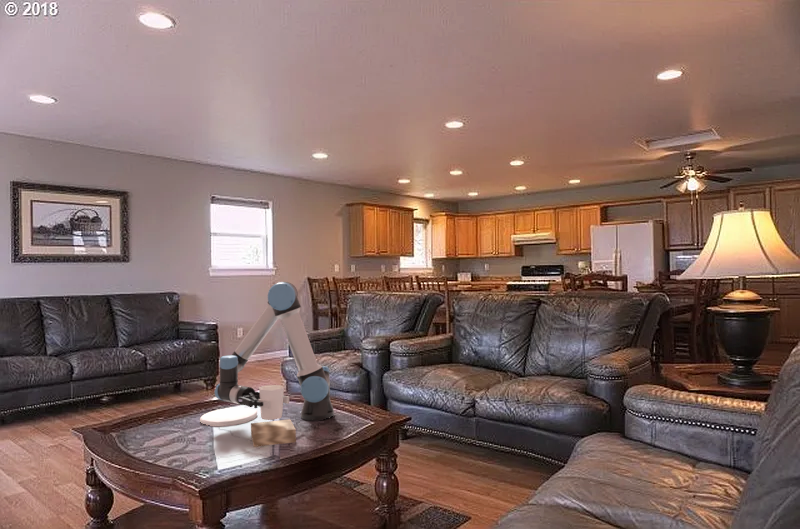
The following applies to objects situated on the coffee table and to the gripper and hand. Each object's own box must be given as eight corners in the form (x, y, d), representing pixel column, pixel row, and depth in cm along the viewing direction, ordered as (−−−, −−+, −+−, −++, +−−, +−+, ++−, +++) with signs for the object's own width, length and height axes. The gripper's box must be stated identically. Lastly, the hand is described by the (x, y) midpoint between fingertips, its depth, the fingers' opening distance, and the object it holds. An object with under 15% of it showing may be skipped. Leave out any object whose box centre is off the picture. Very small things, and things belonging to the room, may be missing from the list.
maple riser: (290, 431, 230) (290, 419, 230) (295, 442, 215) (295, 429, 215) (251, 435, 225) (250, 423, 225) (253, 447, 210) (253, 433, 210)
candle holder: (277, 421, 214) (277, 390, 215) (254, 419, 216) (254, 389, 217) (288, 414, 224) (287, 385, 224) (265, 413, 226) (265, 384, 226)
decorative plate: (231, 401, 270) (267, 407, 257) (231, 410, 270) (267, 416, 257) (187, 413, 249) (225, 420, 236) (188, 422, 249) (225, 430, 236)
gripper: (263, 399, 240) (299, 406, 226) (221, 409, 222) (257, 417, 209) (263, 382, 240) (299, 388, 226) (221, 391, 222) (257, 398, 209)
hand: (279, 402), depth 218 cm, fingers closed on candle holder, 9 cm apart
